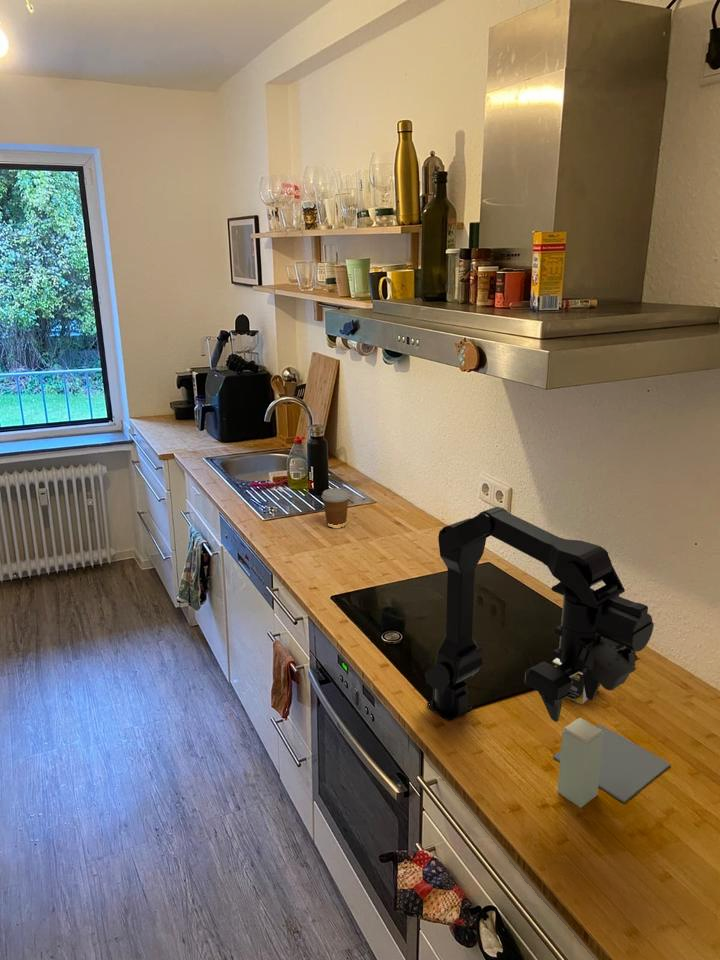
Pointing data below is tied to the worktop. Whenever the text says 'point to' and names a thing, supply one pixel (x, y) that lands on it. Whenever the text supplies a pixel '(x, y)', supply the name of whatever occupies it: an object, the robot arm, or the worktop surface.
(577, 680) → the medicine bottle
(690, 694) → the worktop surface
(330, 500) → the disposable coffee cup
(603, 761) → the plate
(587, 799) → the tea tin
